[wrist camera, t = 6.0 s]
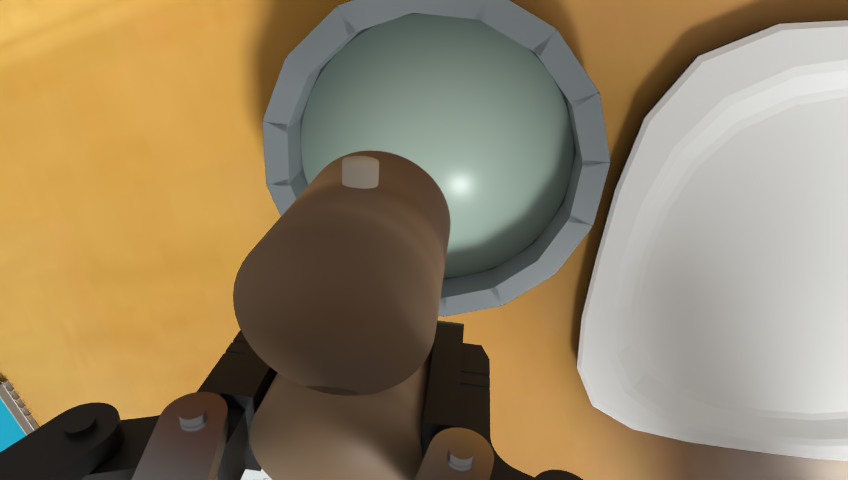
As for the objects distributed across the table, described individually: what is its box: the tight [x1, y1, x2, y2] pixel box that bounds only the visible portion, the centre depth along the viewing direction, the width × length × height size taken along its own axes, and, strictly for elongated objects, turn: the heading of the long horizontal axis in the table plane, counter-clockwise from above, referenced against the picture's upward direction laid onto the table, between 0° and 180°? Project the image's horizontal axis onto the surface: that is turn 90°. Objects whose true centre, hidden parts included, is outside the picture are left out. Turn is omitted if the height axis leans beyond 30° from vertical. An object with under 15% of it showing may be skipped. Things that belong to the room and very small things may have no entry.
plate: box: [577, 20, 848, 461], centre depth 27 cm, size 25×25×2 cm
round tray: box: [263, 0, 610, 317], centre depth 26 cm, size 16×16×3 cm
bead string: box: [233, 150, 450, 480], centre depth 12 cm, size 4×11×4 cm, turn 176°
